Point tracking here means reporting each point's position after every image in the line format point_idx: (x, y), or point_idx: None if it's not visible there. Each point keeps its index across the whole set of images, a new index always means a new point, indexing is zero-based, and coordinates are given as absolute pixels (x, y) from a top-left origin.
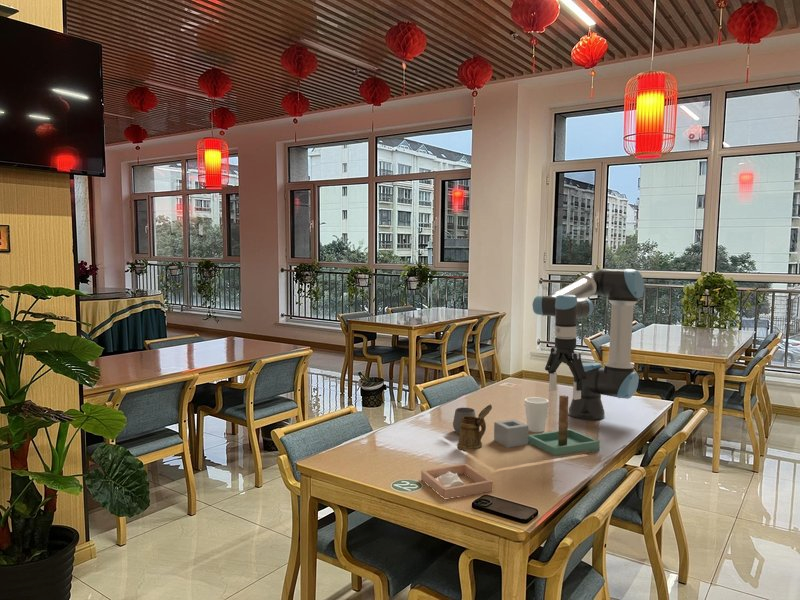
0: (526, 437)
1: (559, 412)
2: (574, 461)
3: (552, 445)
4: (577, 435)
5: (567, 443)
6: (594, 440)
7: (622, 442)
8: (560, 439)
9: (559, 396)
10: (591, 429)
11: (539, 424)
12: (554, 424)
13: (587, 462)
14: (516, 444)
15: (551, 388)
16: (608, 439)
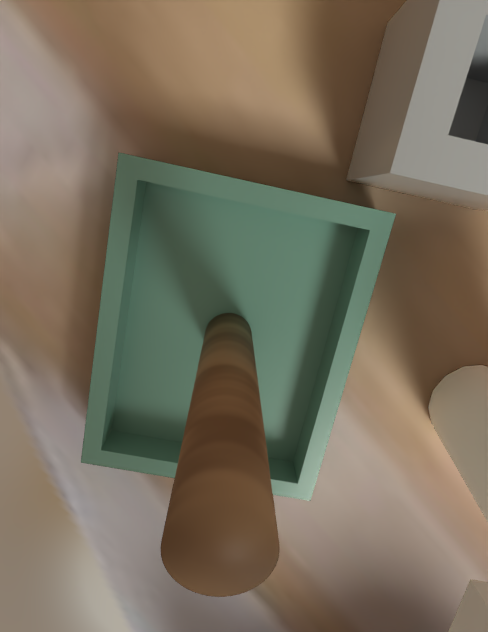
0: (366, 163)
1: (239, 399)
2: (46, 211)
3: (251, 279)
4: None
5: None
6: (102, 450)
7: (121, 588)
8: (224, 323)
9: (259, 513)
10: (316, 620)
11: (459, 411)
12: (475, 555)
13: (3, 256)
14: (376, 87)
15: (485, 625)
16: None
